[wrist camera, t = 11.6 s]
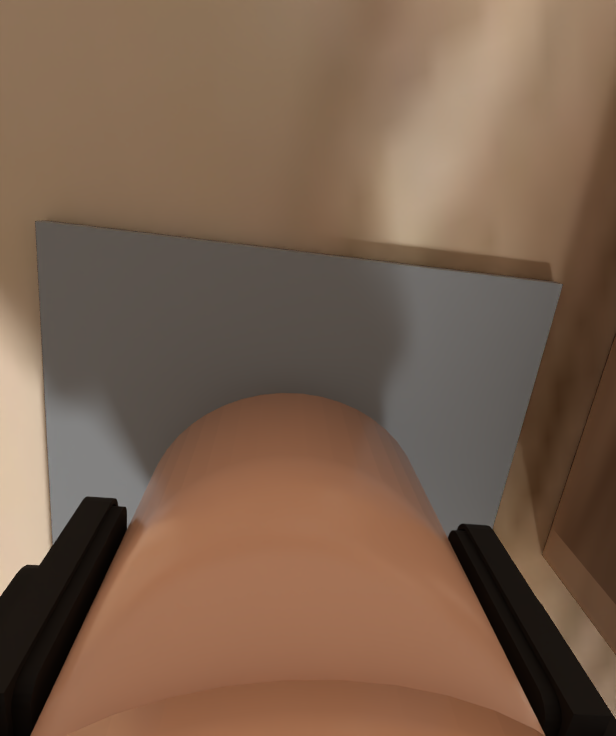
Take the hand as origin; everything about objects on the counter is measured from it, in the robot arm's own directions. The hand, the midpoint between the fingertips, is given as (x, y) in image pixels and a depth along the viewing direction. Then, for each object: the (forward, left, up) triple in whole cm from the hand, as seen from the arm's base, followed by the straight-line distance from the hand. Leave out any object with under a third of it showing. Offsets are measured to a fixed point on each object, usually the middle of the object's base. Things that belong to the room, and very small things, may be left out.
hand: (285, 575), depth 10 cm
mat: (0, 0, -4) cm, 4 cm away
